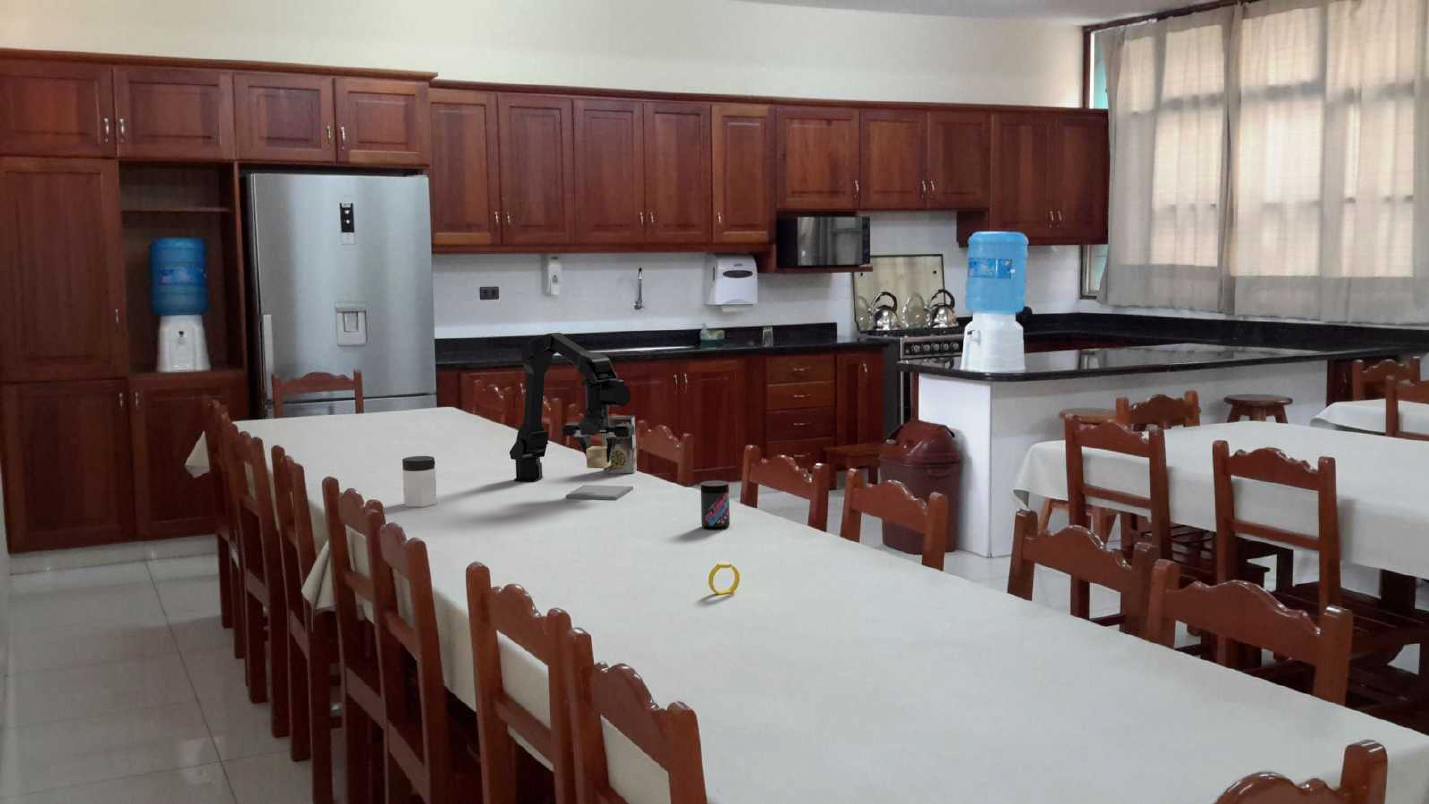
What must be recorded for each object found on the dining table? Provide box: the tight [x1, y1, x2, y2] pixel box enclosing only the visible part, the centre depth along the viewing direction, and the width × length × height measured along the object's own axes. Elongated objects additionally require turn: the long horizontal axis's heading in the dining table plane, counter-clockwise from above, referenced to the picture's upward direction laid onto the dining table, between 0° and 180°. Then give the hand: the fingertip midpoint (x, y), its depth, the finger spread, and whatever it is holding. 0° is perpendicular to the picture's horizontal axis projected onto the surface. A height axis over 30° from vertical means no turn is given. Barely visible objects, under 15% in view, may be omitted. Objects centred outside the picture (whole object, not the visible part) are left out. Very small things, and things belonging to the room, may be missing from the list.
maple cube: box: [585, 445, 611, 469], centre depth 331 cm, size 5×5×5 cm
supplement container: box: [699, 480, 731, 531], centre depth 290 cm, size 7×7×10 cm
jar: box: [401, 455, 438, 508], centre depth 323 cm, size 9×8×12 cm
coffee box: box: [601, 415, 638, 474], centre depth 363 cm, size 9×6×16 cm
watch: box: [708, 560, 741, 596], centre depth 236 cm, size 6×3×6 cm, turn 117°
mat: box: [565, 484, 634, 501], centre depth 332 cm, size 14×14×1 cm
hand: (598, 462), depth 331 cm, fingers closed on maple cube, 5 cm apart
